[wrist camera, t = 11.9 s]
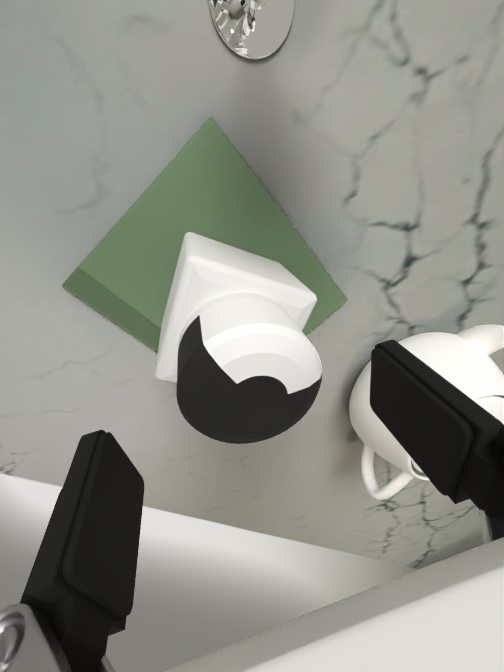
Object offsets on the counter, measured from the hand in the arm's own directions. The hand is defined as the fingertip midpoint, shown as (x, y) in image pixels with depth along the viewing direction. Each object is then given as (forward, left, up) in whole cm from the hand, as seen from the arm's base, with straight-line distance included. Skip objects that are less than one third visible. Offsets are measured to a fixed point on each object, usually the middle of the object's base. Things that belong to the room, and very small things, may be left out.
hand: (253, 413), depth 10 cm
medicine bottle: (0, 0, -13) cm, 13 cm away
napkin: (+1, 0, -13) cm, 13 cm away
